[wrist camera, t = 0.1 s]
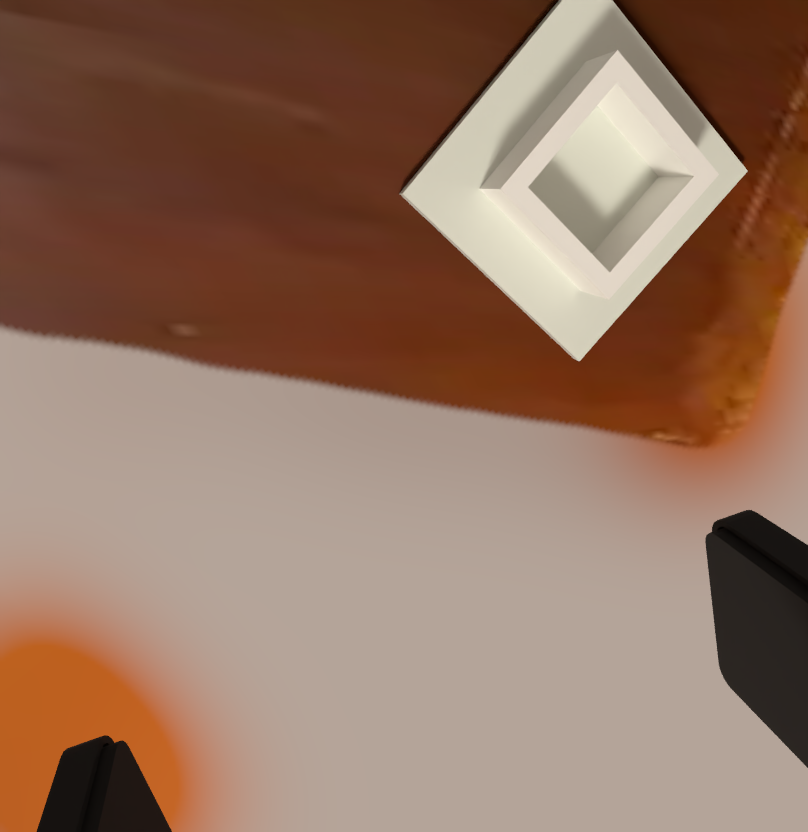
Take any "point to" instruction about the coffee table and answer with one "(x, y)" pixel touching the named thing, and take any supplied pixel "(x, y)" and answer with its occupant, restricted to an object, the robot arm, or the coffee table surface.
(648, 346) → the coffee table surface
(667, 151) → the dock socket
